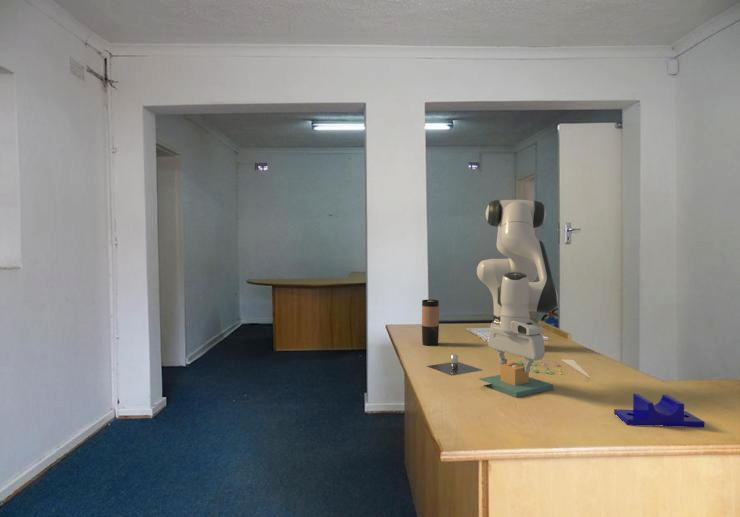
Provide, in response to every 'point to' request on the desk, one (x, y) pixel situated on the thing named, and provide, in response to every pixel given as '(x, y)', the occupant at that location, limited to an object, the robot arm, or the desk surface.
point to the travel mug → (430, 322)
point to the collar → (514, 374)
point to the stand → (454, 367)
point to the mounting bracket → (658, 413)
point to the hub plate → (517, 386)
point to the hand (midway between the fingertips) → (514, 368)
